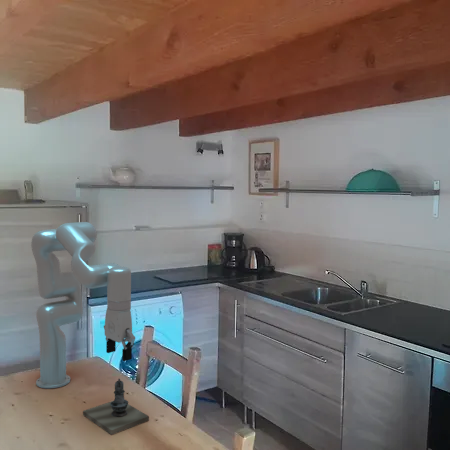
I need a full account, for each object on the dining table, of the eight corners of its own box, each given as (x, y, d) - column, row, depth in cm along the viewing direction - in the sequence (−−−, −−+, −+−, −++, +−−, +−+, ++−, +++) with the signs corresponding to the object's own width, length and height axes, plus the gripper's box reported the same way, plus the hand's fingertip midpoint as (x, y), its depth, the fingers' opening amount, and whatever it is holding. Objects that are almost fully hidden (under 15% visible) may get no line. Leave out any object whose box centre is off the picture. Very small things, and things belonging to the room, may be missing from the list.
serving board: (83, 415, 167) (82, 410, 166) (119, 402, 176) (119, 398, 176) (111, 435, 154) (111, 430, 154) (148, 420, 163) (148, 416, 163)
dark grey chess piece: (129, 409, 168) (129, 374, 167) (126, 417, 162) (126, 381, 161) (112, 409, 168) (111, 374, 167) (108, 417, 162) (108, 381, 161)
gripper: (95, 301, 165) (95, 351, 167) (123, 312, 153) (123, 366, 155) (115, 298, 171) (114, 346, 172) (144, 308, 158) (143, 360, 160)
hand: (118, 356), depth 163 cm, fingers open, 9 cm apart
